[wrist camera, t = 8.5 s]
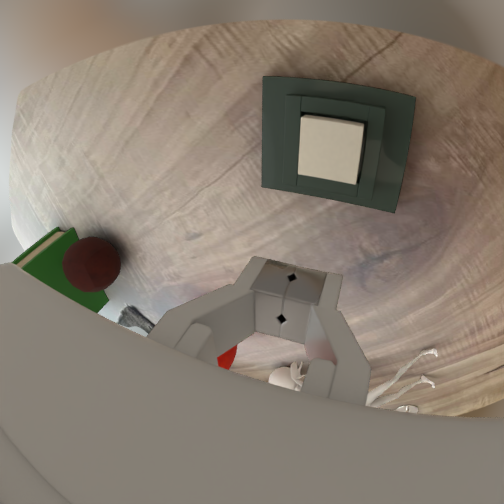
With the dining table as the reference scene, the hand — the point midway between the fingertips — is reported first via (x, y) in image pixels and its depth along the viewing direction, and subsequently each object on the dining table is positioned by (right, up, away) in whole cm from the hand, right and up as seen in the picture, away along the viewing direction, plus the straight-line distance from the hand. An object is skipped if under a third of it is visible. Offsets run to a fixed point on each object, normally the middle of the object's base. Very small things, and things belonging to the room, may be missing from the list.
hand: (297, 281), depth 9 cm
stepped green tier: (+6, +11, +13) cm, 18 cm away
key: (+4, +9, +10) cm, 14 cm away
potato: (-25, +2, +35) cm, 43 cm away
